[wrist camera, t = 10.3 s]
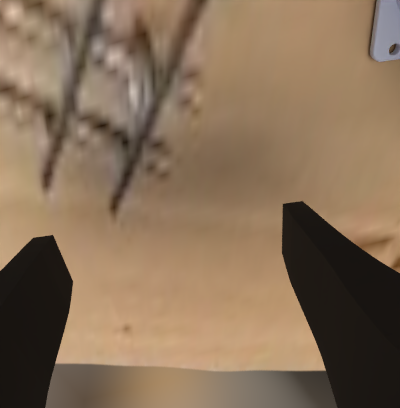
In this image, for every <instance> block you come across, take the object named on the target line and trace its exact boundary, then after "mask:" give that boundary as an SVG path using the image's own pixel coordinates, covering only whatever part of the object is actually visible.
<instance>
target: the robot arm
mask: <svg viewBox="0 0 400 408" xmlns="http://www.w3.org/2000/svg"><path fill="white" fill-rule="evenodd" d="M393 44H396V48H395V50H394V51H393V52H392V53H389V48H390V47H391V46H392V45H393ZM370 55H371V57H372V58H373V59H375V60H376V61H380V62H383V61H390V60H397V59H400V0H377V3H376V10H375V17H374V25H373V32H372V39H371V47H370ZM282 254H283V258H284V262H285V265H286V269H287V272H288V276H289V279H290V282H291V284H292V287H293V289H294V291H295V294H296V296H297V299H298V301H299V303H300V306H301V308H302V310H303V312H304V315H305V317H306V319H307V322H308V324H309V326H310V329H311V331H312V333H313V336H314V338H315V340H316V343H317V345H318V348H319V351H320V353H321V356H322V359H323V362H324V365H325V369H326V372H327V375H328V378H329V381H330V384H331V388H332V391H333V394H334V397H335V401H336V404H337V407H338V408H400V273H398V272H397V271H395V270H393V269H391V268H390V267H388V266H386V265H385V264H383V263H382V262H380V261H378V260H377V259H375V258H374V257H372V256H371V255H370V254H368V253H367V252H365V251H364V250H362V249H361V248H359V247H358V246H357V245H355V244H354V243H353V242H351V241H350V240H349V239H347V238H346V237H345V236H344V235H342V234H341V233H340V232H338V231H337V230H336V229H335V228H334V227H332V226H331V225H330V224H329V223H328V222H326V221H325V220H324V219H323V218H322V217H320V216H319V215H318V214H317V213H316V212H315V211H313V210H312V209H311V208H310V207H309V206H308V205H306V204H305V203H304V202H303V201H300V202H293V203H286V204H283V228H282ZM72 286H73V280H72V278H71V276H70V273H69V271H68V269H67V266H66V264H65V262H64V260H63V257H62V255H61V253H60V250H59V248H58V246H57V243H56V241H55V239H54V236H53V235H51V236H43V237H36V238H33V239H32V240H31V241H30V242H29V243H28V244H26V245H25V246H24V247H23V248H22V249H21V251H20V252H19V253H18V254H17V255H16V256H15V257H14V258H13V259H12V260H11V261H10V262H9V263H8V264H7V265H6V266H5V267H4V268H3V269H2V270H1V271H0V408H45V405H46V400H47V393H48V389H49V385H50V380H51V376H52V372H53V369H54V366H55V362H56V358H57V355H58V351H59V347H60V344H61V340H62V337H63V333H64V329H65V325H66V322H67V318H68V314H69V309H70V302H71V295H72Z"/></svg>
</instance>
